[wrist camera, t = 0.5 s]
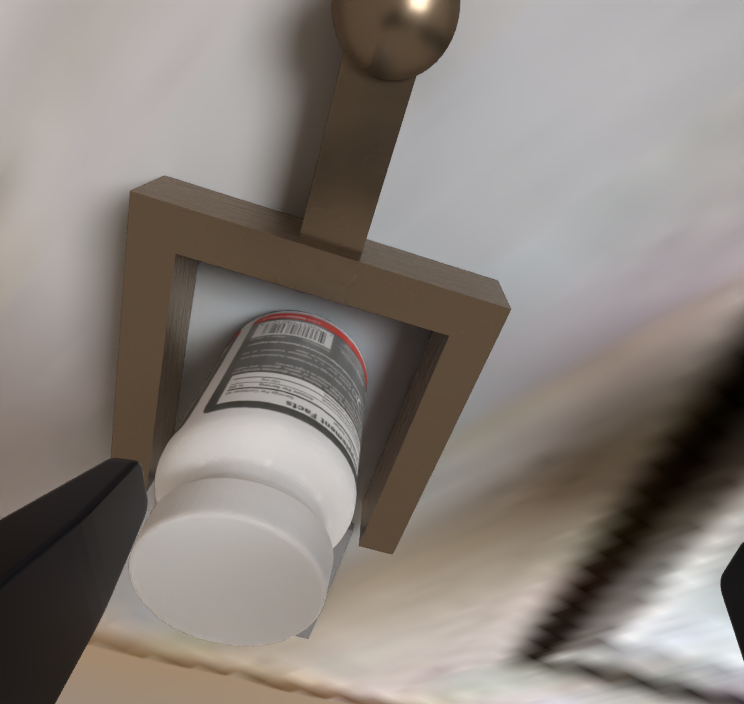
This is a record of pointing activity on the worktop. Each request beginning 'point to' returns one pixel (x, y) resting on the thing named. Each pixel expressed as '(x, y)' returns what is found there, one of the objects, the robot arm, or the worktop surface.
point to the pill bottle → (257, 486)
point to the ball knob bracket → (316, 264)
